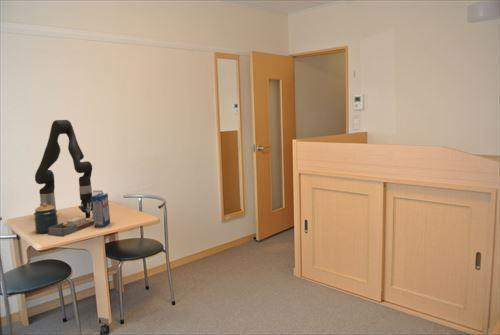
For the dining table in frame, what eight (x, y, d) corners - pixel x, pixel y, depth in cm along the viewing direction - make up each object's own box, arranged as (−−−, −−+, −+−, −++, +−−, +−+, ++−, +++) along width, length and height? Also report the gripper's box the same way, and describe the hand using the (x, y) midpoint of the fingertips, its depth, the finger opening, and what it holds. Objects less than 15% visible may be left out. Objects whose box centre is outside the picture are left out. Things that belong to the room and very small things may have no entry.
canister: (34, 235, 239) (31, 206, 237) (36, 229, 251) (33, 202, 249) (58, 231, 244) (55, 203, 242) (59, 226, 256) (56, 199, 254)
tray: (48, 234, 239) (47, 227, 239) (62, 229, 249) (62, 222, 249) (63, 236, 235) (62, 229, 234) (77, 230, 245) (76, 224, 245)
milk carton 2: (100, 223, 261) (98, 193, 258) (110, 223, 260) (107, 193, 258) (94, 227, 251) (91, 196, 248) (104, 227, 250) (101, 196, 248)
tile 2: (74, 223, 254) (74, 218, 253) (80, 221, 258) (80, 216, 258) (80, 223, 252) (80, 219, 252) (86, 221, 257) (86, 217, 256)
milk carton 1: (101, 218, 272) (99, 191, 269) (92, 218, 273) (90, 191, 271) (107, 216, 279) (105, 189, 276) (98, 215, 280) (96, 189, 278)
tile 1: (67, 225, 249) (67, 220, 248) (73, 223, 253) (73, 218, 253) (74, 226, 247) (73, 221, 247) (80, 223, 252) (79, 219, 251)
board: (62, 229, 249) (62, 225, 249) (79, 223, 262) (79, 219, 262) (77, 230, 245) (77, 226, 245) (93, 224, 258) (93, 220, 258)
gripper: (88, 189, 266) (90, 215, 269) (73, 194, 254) (76, 220, 257) (97, 190, 264) (99, 215, 266) (82, 194, 251) (85, 221, 254)
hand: (88, 218), depth 261 cm, fingers closed
